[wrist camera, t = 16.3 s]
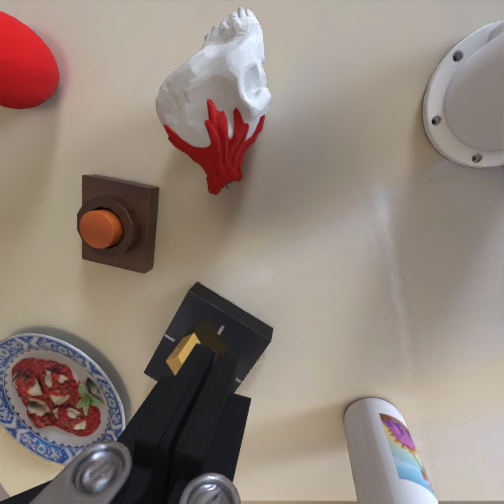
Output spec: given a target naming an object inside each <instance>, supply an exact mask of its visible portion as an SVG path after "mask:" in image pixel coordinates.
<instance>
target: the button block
mask: <svg viewBox="0 0 504 504" xmlns="http://www.w3.org/2000/svg"><path fill="white" fill-rule="evenodd" d="M158 195H159V188H158V187H154V186H148V185H143V184H138V183H133V182H128V181H123V180H118V179H113V178H108V177H103V176H98V175H82V207H81V209H80V210H79V212H78V214H77V230H78V232H79V234H80V237H81V239H82V259H85V260H89V261H93V262H97V263H102V264H106V265H110V266H114V267H119V268H123V269H127V270H131V271H135V272H140V273H146V272H148V271H150V270H151V269H153V260H154V247H155V234H156V221H157V208H158ZM102 209H105V210H109V211H111V212H113V213H114V214H116V215H117V216H118V218H119V219H120V221H121V223H122V226H123V235H122V238H121V239H120V241H119V242H118V243H116V244H114V245H112V246H109V247H106V248H102V249H99V248H94V247H92V246H90V245H89V244H88V243H87V242H86V241H85V240H84V239H83V237H82V235H81V232H80V221H81V218H82V217H83V216H84V215H85V214H86V213H87V212H90V211H95V210H102Z"/></svg>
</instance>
